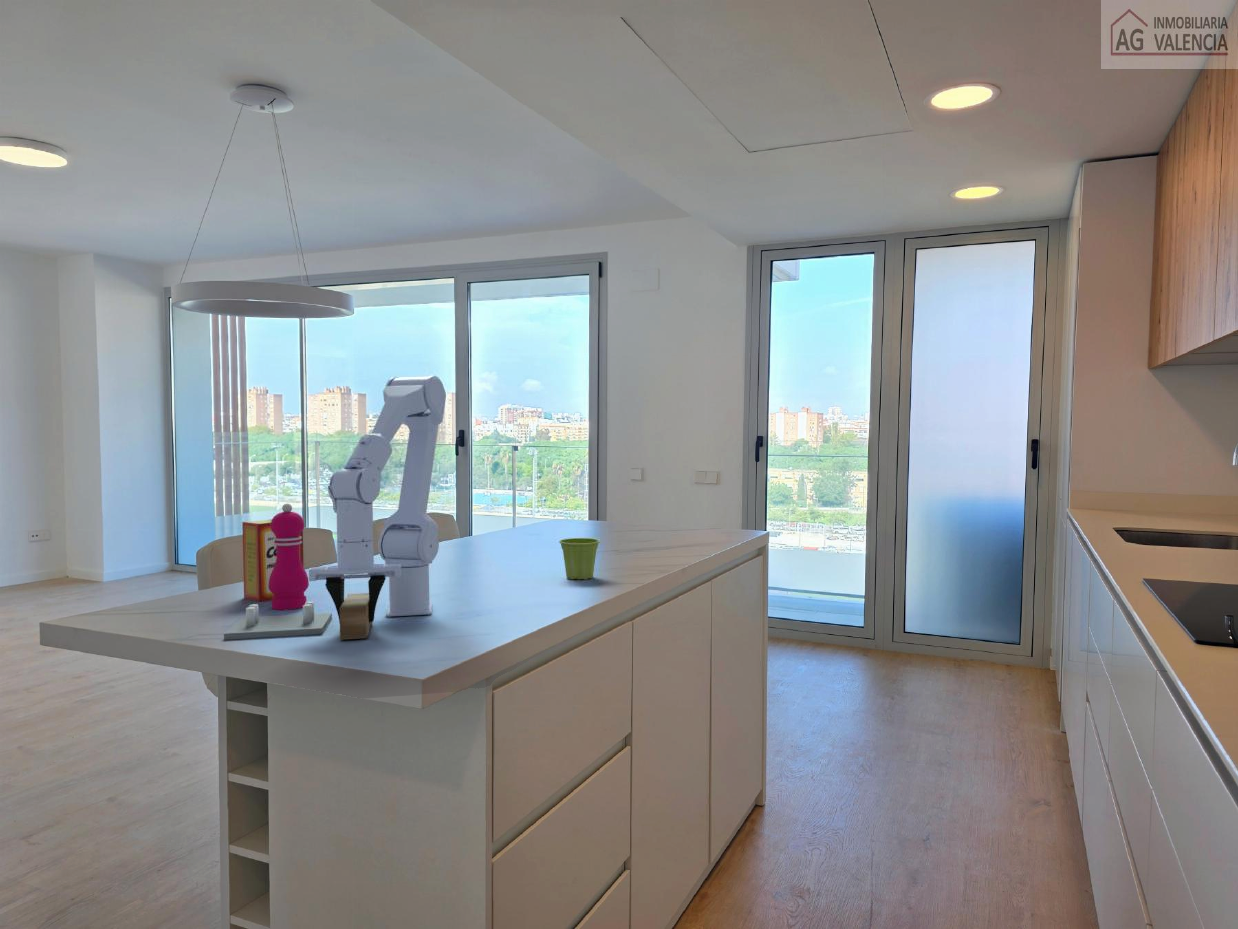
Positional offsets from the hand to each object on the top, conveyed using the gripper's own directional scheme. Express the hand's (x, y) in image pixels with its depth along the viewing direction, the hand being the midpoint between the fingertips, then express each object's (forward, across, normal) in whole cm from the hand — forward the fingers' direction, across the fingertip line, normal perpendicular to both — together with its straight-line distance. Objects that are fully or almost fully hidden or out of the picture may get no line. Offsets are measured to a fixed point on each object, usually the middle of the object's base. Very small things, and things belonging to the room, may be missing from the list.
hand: (356, 621), depth 133 cm
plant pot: (+2, +45, +42) cm, 62 cm away
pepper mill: (+2, -15, +25) cm, 29 cm away
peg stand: (+2, -13, +6) cm, 14 cm away
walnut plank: (+1, 0, 0) cm, 1 cm away
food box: (+2, -20, +37) cm, 42 cm away
